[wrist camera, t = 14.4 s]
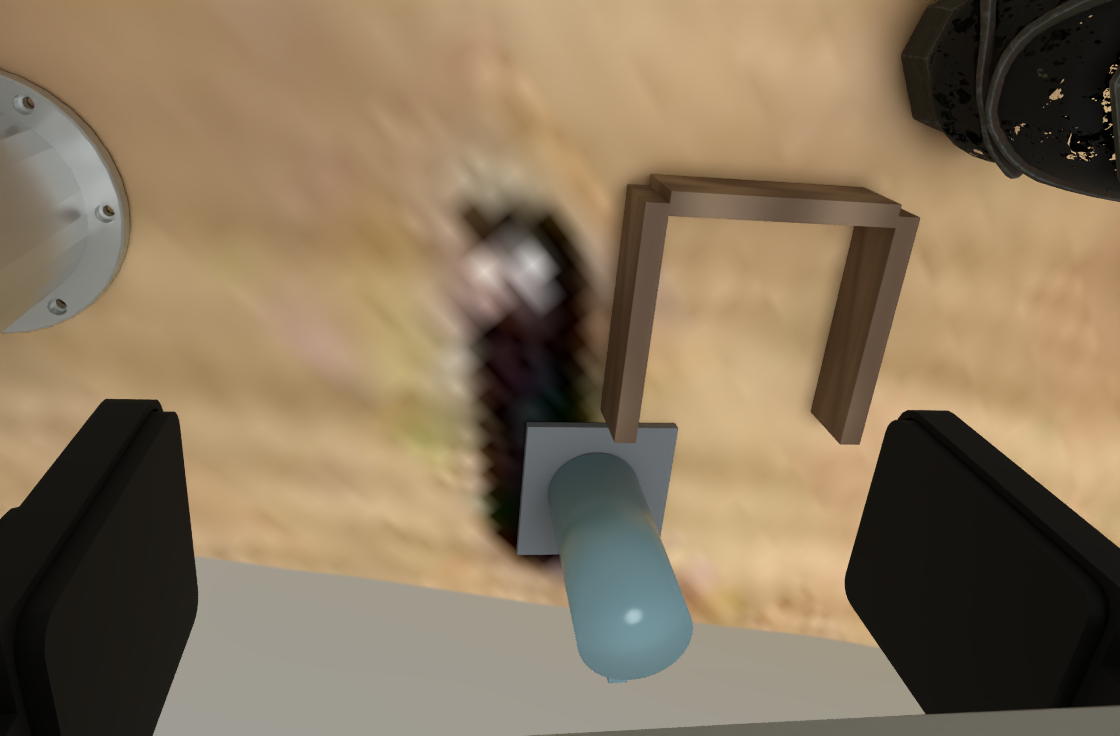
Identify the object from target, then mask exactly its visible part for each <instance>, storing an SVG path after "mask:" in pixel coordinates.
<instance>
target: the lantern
mask: <svg viewBox="0 0 1120 736" xmlns="http://www.w3.org/2000/svg"><path fill="white" fill-rule="evenodd" d="M1090 15H1093V16H1092V17H1090V18H1089V16H1090ZM1080 22H1082V24H1079V23H1080ZM901 58H902V63H903V68H904V73H905V78H906V83H907V88H908V94H909V99H910V104H911V109H912V114H913V118H914V119H915V120H917V121H919V122H922V123H924V124H926V125H928V126H930V127H933V128H935V129H937V130H939V131H941V132H944V134H945V135H946V136H947V137H948V138H949V139H950V140H951V141H952V142H953V143H954V145H956V146H957V147H959V148H960V149H962V150H964V151H965V152H967V153H968V154H970V153H971V155H972V154H976V155H977V154H978V156H974V157H977V158H980V159H983V160H986V161H988V160H990V161H989V162H994V163H996V164H997V165H998V167H999V168H1000V169H1001V171H1002V172H1003V173H1004V174H1005V175H1006V176H1007V177H1009V178H1010V179H1012V178H1019V177H1020V176H1021V175H1022V174H1025V175H1026V176H1028V177H1030V178H1031V179H1033V180H1035V181H1037V182H1040V183H1043V184H1047V185H1050V186H1053V187H1056V188H1060V189H1063V190H1066V191H1070V192H1074V193H1079V194H1083V195H1087V196H1091V197H1096V198H1101V199H1106V200H1112V201H1117V202H1120V0H942V1H939V2H937V3H935V4H933V5H930V6H929V7H927V9H926V11H925V13H924V15H923V16H922V18H921V20H920V22H919V24H918V25H917V27H916V29H915V31H914V33H913V34H912V36H911V38H910V40H909V42H908V43H907V45H906V47H905V49H904V51H903V53H902V55H901ZM1116 64H1117V65H1118V66H1115V65H1116ZM1111 65H1114V66H1112V67H1114V68H1117V70H1114V69H1112V71H1111V72H1113V73H1112V74H1111V72H1110V70H1111V69H1110V67H1111ZM1109 72H1110V74H1109ZM1062 79H1064V81H1063V82H1062V83H1061V81H1062ZM1060 83H1061V84H1060ZM1057 88H1058V89H1060V88H1061V90H1062V91H1061V92H1060V94H1061V95H1062V94H1063V95H1064V96H1063V97H1062V98H1058V99H1056V100H1052V99H1049V96H1050V95H1051V94H1052V93H1053V92H1054V91H1056V89H1057ZM1106 88H1110V98H1107V97H1108V96H1109V95H1108V96H1107V97H1106V98H1105V99H1104V97H1103V92H1104V91H1105V90H1106ZM1107 90H1108V91H1109V89H1107ZM1106 92H1107V91H1106ZM1105 96H1106V94H1105ZM1057 97H1058V96H1057ZM1092 98H1095V99H1094V100H1092ZM1103 99H1104V100H1105V101H1108V102H1110V104H1105V106H1107V108H1108V107H1109V106H1111V111H1110V112H1109V111H1108V112H1107V113H1106V112H1105V110H1104V105H1102V104H1101V103H1102V102H1104V101H1102V100H1103ZM1095 100H1097V101H1095ZM1050 101H1051V102H1050ZM1047 103H1048V105H1046V104H1047ZM1043 106H1044V108H1043ZM1105 115H1106V116H1105ZM1065 116H1067V117H1065ZM1104 116H1105V118H1106V119H1107V118H1108V121H1107V122H1104V123H1103V117H1104ZM1022 123H1025V125H1023V127H1022V126H1021V125H1020V124H1022ZM1110 123H1111V124H1113V125H1112V126H1111V127H1110V128H1108V127H1109V126H1110V125H1109V124H1110ZM1015 126H1019V127H1020V128H1019V129H1020V131H1018V132H1017V133H1018V134H1016V132H1015V128H1013V127H1015ZM1077 127H1078V128H1077ZM1075 128H1077V129H1075ZM1107 128H1108V129H1107ZM1062 129H1063V130H1062ZM1064 129H1065V130H1064ZM1104 129H1107V130H1104ZM1010 131H1011V133H1010ZM1014 132H1015V133H1014ZM1045 132H1046V133H1048V134H1044V133H1045ZM1049 132H1051V134H1049ZM1070 134H1072V136H1071V139H1070V141H1071V142H1070V147H1069V145H1068V144H1067V142H1068V140H1069V137H1070ZM1110 134H1112V135H1110ZM1112 136H1114V137H1113V138H1112ZM1009 137H1010V138H1009ZM1047 137H1048V138H1047ZM1011 138H1012V139H1011ZM1013 140H1014V141H1013ZM1091 140H1092V141H1091ZM1041 141H1042V143H1041ZM1078 141H1080V142H1079V143H1077V142H1078ZM1103 144H1104V145H1103ZM1105 144H1106V145H1105ZM1088 147H1091V148H1092V149H1091V148H1090V149H1088ZM1093 147H1094V148H1093ZM978 148H979V149H978ZM967 149H969V150H967ZM973 149H977V150H978V151H981V152H982V153H983V154H984V155H982V154H979V153H977V152H976V153H975V152H974V151H973ZM1071 150H1072V151H1074V152H1076V155H1075V154H1074V153H1072V152H1071ZM1092 151H1094V152H1095V153H1092V154H1093V155H1094V157H1092V158H1091V157H1088V156H1092V154H1091V153H1090V152H1092ZM969 152H970V153H969ZM1078 152H1085V153H1086V155H1087V156H1085V157H1086V159H1088V162H1087V161H1085V160H1084V159H1082V158H1081V157H1079V153H1078ZM1085 153H1084V154H1085ZM1114 153H1115V158H1116V160H1109V159H1111V158H1113V157H1112V155H1113V154H1114ZM1070 154H1072V155H1073V156H1077V157H1073V158H1074V160H1072V159H1068V158H1066V157H1067V156H1068V155H1070ZM1088 154H1089V155H1088ZM1095 154H1097V156H1095ZM1035 155H1036V156H1035ZM972 156H973V155H972ZM1081 156H1082V155H1081ZM984 157H985V158H984ZM988 157H989V158H988ZM992 158H993V159H992ZM1070 158H1071V156H1070ZM1080 159H1081V160H1080ZM1089 159H1090V161H1089ZM1073 167H1074V168H1073ZM1115 169H1117V171H1115Z"/></svg>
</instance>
